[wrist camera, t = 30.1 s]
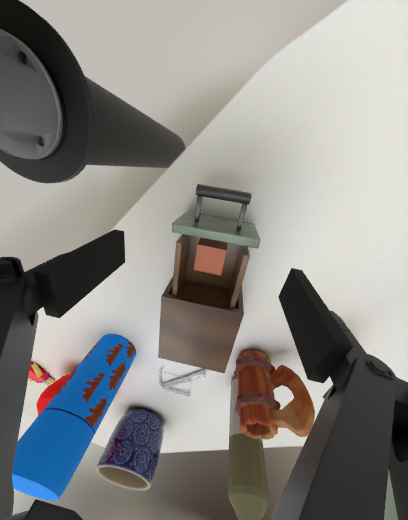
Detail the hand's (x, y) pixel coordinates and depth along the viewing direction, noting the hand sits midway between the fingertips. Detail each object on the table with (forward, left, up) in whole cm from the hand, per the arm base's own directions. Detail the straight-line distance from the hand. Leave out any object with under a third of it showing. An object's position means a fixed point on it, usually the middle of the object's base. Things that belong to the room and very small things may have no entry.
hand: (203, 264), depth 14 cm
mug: (+31, +16, -19) cm, 40 cm away
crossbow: (+47, -2, -19) cm, 50 cm away
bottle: (+42, +14, -19) cm, 48 cm away
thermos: (+41, -21, -19) cm, 49 cm away
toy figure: (+63, -51, -19) cm, 83 cm away
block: (+6, 0, -17) cm, 17 cm away
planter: (+75, -13, -19) cm, 78 cm away
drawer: (+5, 0, -18) cm, 18 cm away
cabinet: (+19, 0, -19) cm, 26 cm away
